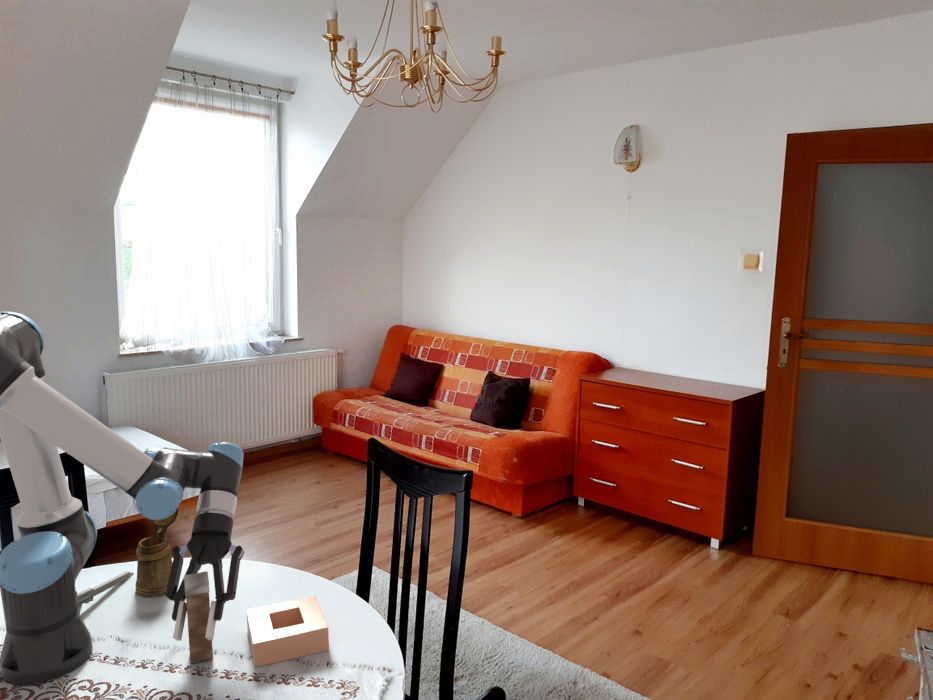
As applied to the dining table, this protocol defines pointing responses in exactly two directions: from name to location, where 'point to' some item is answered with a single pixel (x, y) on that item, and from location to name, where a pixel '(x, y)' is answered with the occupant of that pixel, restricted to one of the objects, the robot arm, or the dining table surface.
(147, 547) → the wooden mug
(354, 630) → the dining table surface
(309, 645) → the terracotta holder
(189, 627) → the silver-capped wooden peg
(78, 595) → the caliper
